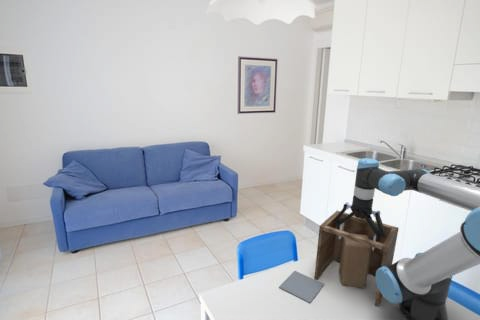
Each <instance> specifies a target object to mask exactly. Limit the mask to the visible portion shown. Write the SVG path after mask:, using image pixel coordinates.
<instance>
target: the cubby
mask: <svg viewBox="0 0 480 320" xmlns="http://www.w3.org/2000/svg"><path fill="white" fill-rule="evenodd" d="M340 212H341V211H340V210H336V211H335V212H333V213H332V214H331V215H330V216H329V217H327V219H325V221H324V222H322V223H321V224H320V225H319V227H318V228H319V229H318V240H317V250H316V259H315V266H314V267H315V269H314V278H313V279H315V280H317V281H318V279H319V278H320V277H321V276H322V275H323V273H324V272H325V271H326V270H327V268H328V267H329V266H330V264H332V262H335V263H338V264H340V258H341V250H342V242H343V237H345V238H348V239H351V240H354V241H357V242H360V243H363V244H366V245H369V246H372V247H375V249H374V251H373V250H371V257H370V263H369V270H368V276H372V277H374V278H376V271H377V270H378V269H379V268H381V267H383V266H390V265H392V264H393V261H394V255H395V251H396V246H397V245H396V244H397V238H398V234H399V230H400V229H399V227H397V226H395V225H394V226H393V225H390V224H387V223H383V226H384V229H385V231H386V234H385V236H384V237H383V236H380V241H379V242H376V241H373V239H374V235H375V233H374V231H373V229H372V228H371V226H370V225H369V223H368V222H367V221H366V220H365V219H361V218H357V217H355V216H352V217H350V218H349V219H347V220H346V221H344V222H343V223H344V228H343V231H341V230H338V223H337V222H335V221H334V219H335V218H336V217H337V215H338V214H339V213H340ZM348 214H349V213H347V212H344V213H343V215H342V216H341V217H340V218H339V219H340V220H341V219H343V218H344V217H346V216H347V215H348ZM373 221H374V223H375V224H376V226H377V227H378V225H377V222H376V220H373ZM378 229H379V227H378ZM379 231H380V230H379ZM354 234H360V235H366V236H367V237H368V239H367V238H363V237H360V236H357V235H354ZM339 236H342V238H341V239H339ZM382 298H383V295H382V294H381V292H380V291H379V288H378V287H377V289H376V293H375V300H374V306H375V307H377V308H378V307H379V306H380V304H381V301H382Z"/></svg>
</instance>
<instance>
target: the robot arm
mask: <svg viewBox="0 0 480 320" xmlns="http://www.w3.org/2000/svg"><path fill="white" fill-rule="evenodd" d="M357 162H358V163H357V165H356V173H355V181H354V182H355V183H354V190H353V197H352V201H351V202H352V203H351V204H349V202H345V203H343V207H342V209H341V212H340V213H339V214H338V215H337V217H336V218H335V219H334V221H335V222H337V223H338V230H341V231H343V228H344V223H343V222H344V221H346V220H347V219H349V218H350V217H352V216H355V217H357V218H361V219H365V220H366V221H367V222H368V223H369V225H370V226H371V228H372V229H373V231H374V233H375V235H374V239H373V241H376V242H379V241H380V236H383V237H384V236H385V234H386V231H385V229H384V226H383V224H384V223H383V221H382V218H381V211H380V210H377V211H375V210H373V203H374V198H375V192H376V190H377V191H380V192H381V193H383V194H385V195H388V196H391V197H397V196H399V195H401V194H402V193H403V192H406V191H415V192H417V193H419V194H423V195H426V196H429V197H431V198H434V199H436V200H439V201H443V202H445V203H448V204H451V205H454V206H457V207H459V208H463V209H465V210H467V211H470V212H469V213H468V214H467V215H466V217H465V220H463V222H462V223H461V224H460V228H459V231H458V232H457V233H455V234H453V235H451V236H450V237H448V238H447V239H444V240H443V241H441V242H439V243H438V244H435V245H433V246H432V247H431V248H429V249H427V250H426V251H424V252H418V253H416V254H415V255H414V257H413V258H410V257H404V258H400V259H399V260H397V261H396V262H394V263H392V265H390V266H383V267H381V268H379V269H378V270H377V271H376V277H375V282H376V286H377V288H379V291H380V292H381V294H382V295H383V296H382V298H385V300H387V301H388V302H389V303H391V304H399V309H400V311H401V313H402V315H403V316H404V317H405V318H406V319H407V320H449V317H448V309H447V305H446V302H447V298H448V294H449V292H450V291H449V290H450V287H451V283H452V279H453V276H455V275H457V274H460V273H462V272H464V271H467V270H469V269H472V268H474V267H477V266H479V265H480V186H477V185H473V184H469V183H465V182H461V181H457V180H454V179H450V178H446V177H443V176H439V175H435V174H432V173H431V172H430V171H429V170H427V169H424V168H414V169H403V170H385V169H382V168H380V162H379V161H378V160H377V159H374V158H367V157H366V158H365V157H363V158H360V159H359V160H358V161H357ZM349 209H350V210H351V212H350V213H348V215H347V216H346V217H344V218H343V219H341V220H340V219H339V218H340V217H341V216H342V215H343V213H346V211H347V210H349ZM372 215H373V217H374V218H375V220H373V218H372ZM374 221H376V222H377V225H378V227H379V229H378V227H377V226H376V224H375V223H374ZM379 230H380V231H379ZM341 238H342V236H339V239H341ZM374 249H375V247H372V250H373V251H374Z"/></svg>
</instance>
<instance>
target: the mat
mask: <svg viewBox="0 0 480 320" xmlns="http://www.w3.org/2000/svg"><path fill="white" fill-rule="evenodd" d="M324 286H325V283H323V282H321V281H319V280H318V279H317V280H316V279H314V278H313V277H310V276H307V275H305V274H303V273H301V272H299V271H297V270H293V272H292V273H291V274H289V276H288V277H287V278H286V279H285V280H284V281H283V282H282V283H281V284H280V285H279V286H278V288H279V290H282V291H283V292H286V293H288V294H289V295H292V296H294V297H296V298H298V299H300V300H302V301H304V302H306V303H308V304H312V302H313V301H314V300H315V298H316V297H317V295H318V294H319V293H320V292H321V290H322V289H323V287H324Z"/></svg>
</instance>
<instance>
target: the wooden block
mask: <svg viewBox="0 0 480 320" xmlns="http://www.w3.org/2000/svg"><path fill="white" fill-rule="evenodd" d="M354 235H357V236H360V237H363V238H367V239H368V237H367V236H366V235H360V234H354ZM371 250H372V246H369V245H366V244H363V243H360V242H357V241H354V240H351V239H348V238H345V237H343V242H342V250H341V258H340V263H339V266H338V267H339V268H338V272H339V273H338V274H339V278H340V279H339V280H340V281H341V282H340V283H341V284H342V286H348V287H349V286H350V287H355V288H362V289H364V288H366V287H367V281H368V276H369V274H368V270H369V263H370V257H371Z"/></svg>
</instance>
